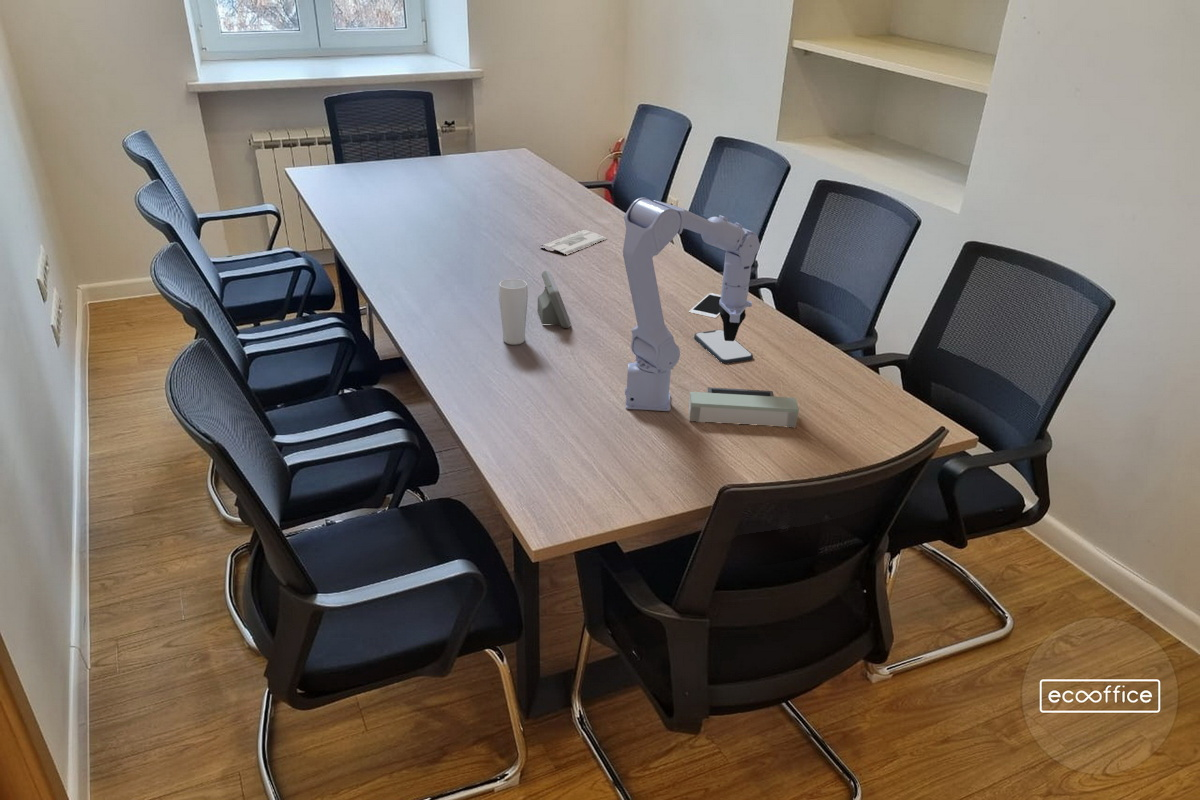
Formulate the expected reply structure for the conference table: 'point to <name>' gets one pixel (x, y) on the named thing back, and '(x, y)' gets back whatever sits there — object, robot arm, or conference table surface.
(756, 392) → the shell tray
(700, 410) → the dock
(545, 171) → the conference table surface
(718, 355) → the smartphone
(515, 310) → the drinking glass
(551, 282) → the digital clock
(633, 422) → the conference table surface
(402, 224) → the conference table surface
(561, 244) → the newspaper
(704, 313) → the cell phone
